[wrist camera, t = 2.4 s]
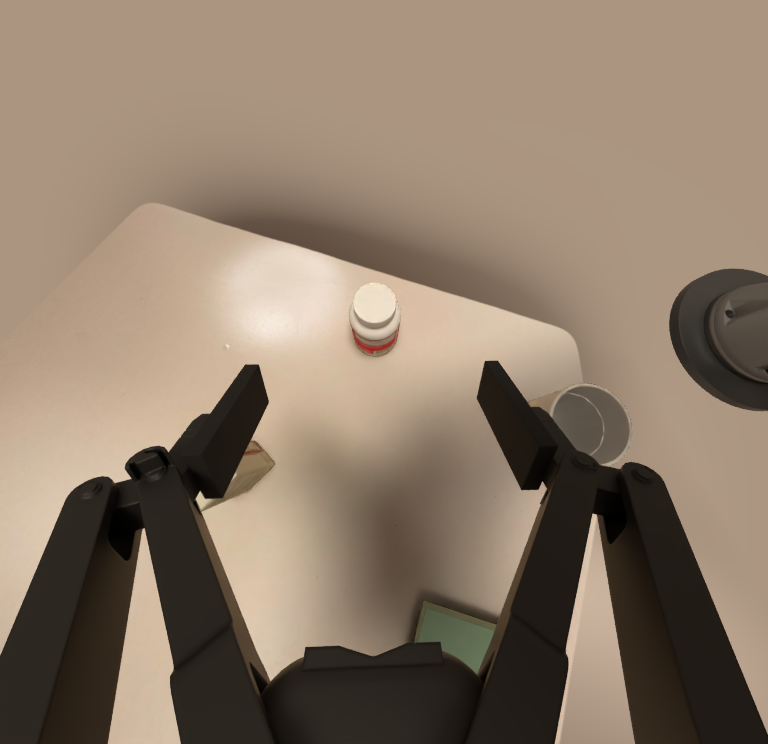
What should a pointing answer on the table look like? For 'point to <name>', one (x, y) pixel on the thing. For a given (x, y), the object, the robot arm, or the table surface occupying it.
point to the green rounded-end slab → (455, 633)
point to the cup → (590, 420)
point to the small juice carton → (242, 475)
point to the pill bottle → (375, 319)
